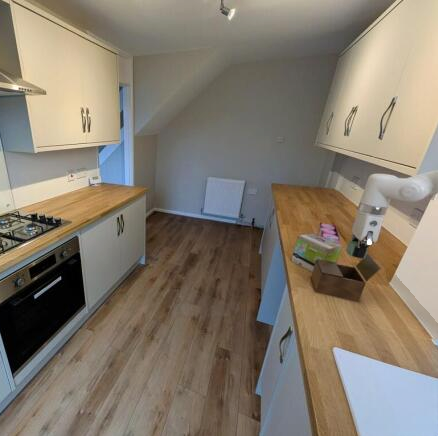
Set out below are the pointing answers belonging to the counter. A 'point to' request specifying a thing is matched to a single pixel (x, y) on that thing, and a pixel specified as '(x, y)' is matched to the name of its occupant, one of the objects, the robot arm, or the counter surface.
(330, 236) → the gum box
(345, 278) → the carton
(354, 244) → the block
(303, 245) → the tea box
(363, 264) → the flap
